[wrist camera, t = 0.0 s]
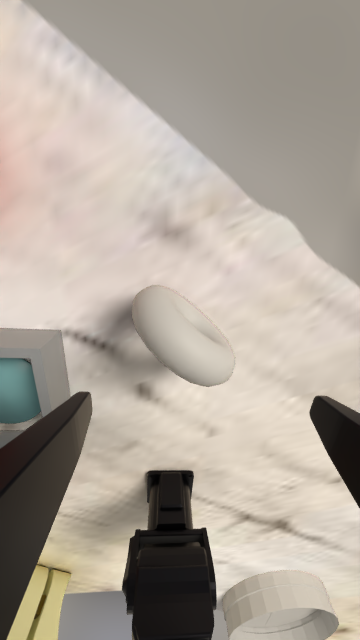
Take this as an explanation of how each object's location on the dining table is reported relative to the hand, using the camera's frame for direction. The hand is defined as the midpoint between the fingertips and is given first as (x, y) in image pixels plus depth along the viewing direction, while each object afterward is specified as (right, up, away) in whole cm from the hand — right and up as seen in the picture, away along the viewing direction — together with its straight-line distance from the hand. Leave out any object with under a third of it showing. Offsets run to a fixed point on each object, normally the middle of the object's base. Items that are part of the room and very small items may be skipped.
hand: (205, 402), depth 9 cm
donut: (-1, +4, +14) cm, 15 cm away
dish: (+19, -56, +39) cm, 71 cm away
